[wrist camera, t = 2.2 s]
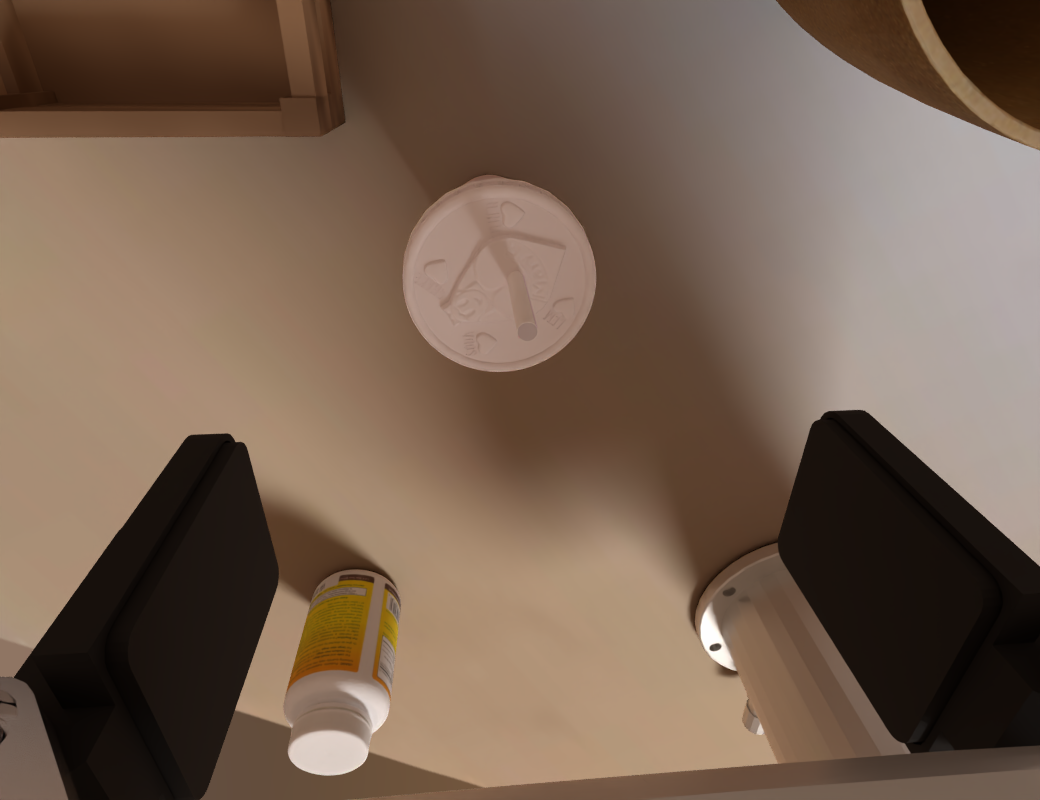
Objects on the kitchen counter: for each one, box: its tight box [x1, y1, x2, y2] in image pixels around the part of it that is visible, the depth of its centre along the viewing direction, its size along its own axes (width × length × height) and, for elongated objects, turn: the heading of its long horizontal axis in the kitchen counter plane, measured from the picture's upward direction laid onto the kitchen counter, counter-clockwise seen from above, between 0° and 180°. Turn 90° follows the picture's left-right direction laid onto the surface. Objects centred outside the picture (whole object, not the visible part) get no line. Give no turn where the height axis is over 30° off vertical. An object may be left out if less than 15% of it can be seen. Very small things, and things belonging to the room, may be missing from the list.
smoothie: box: [403, 175, 596, 372], centre depth 22 cm, size 6×6×14 cm
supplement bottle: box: [284, 569, 401, 775], centre depth 35 cm, size 6×6×10 cm
